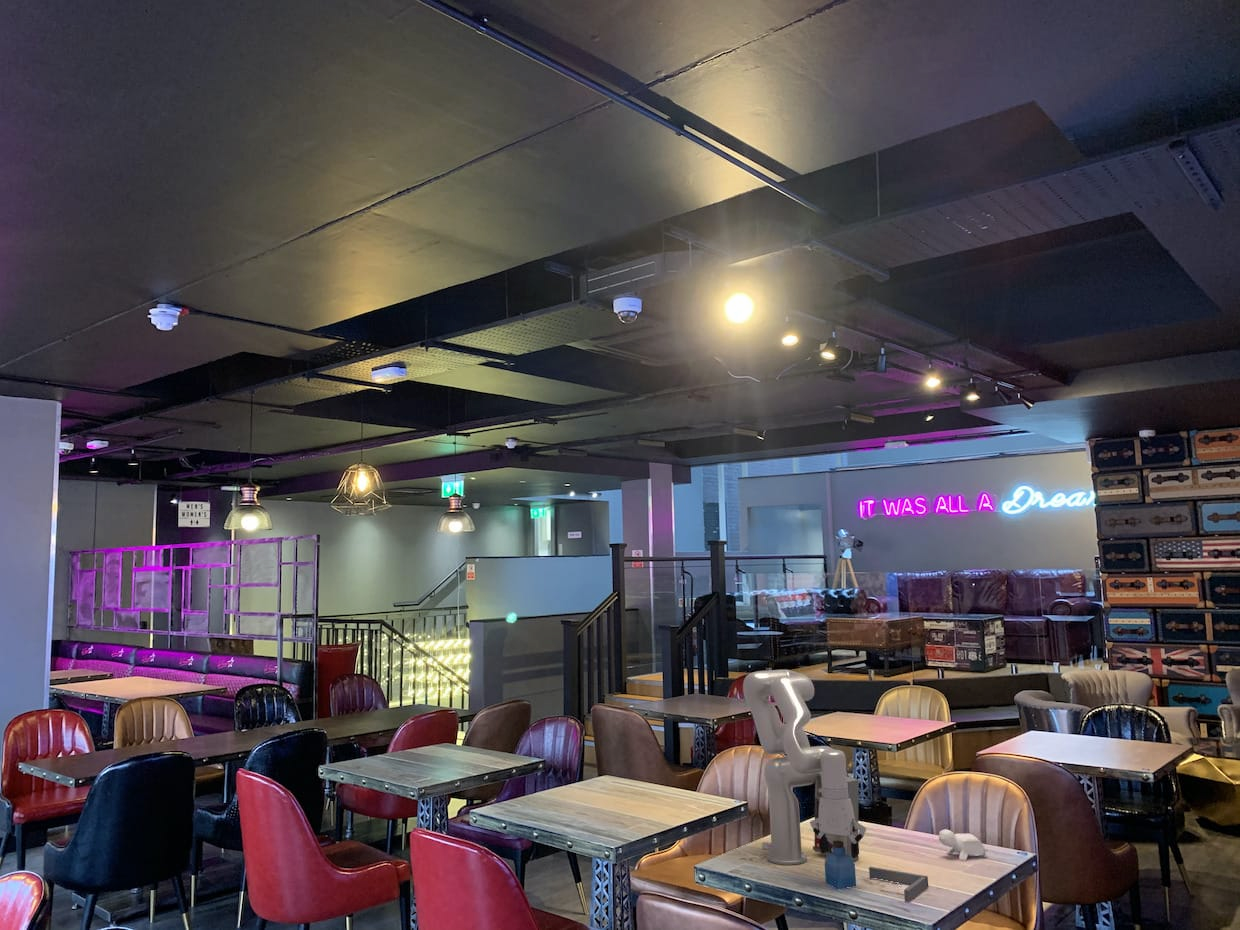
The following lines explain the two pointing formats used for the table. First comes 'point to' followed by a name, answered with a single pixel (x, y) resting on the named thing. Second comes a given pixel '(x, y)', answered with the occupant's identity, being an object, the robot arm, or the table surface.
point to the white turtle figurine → (962, 844)
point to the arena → (902, 881)
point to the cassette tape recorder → (853, 795)
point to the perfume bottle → (839, 868)
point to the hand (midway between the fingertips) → (839, 854)
